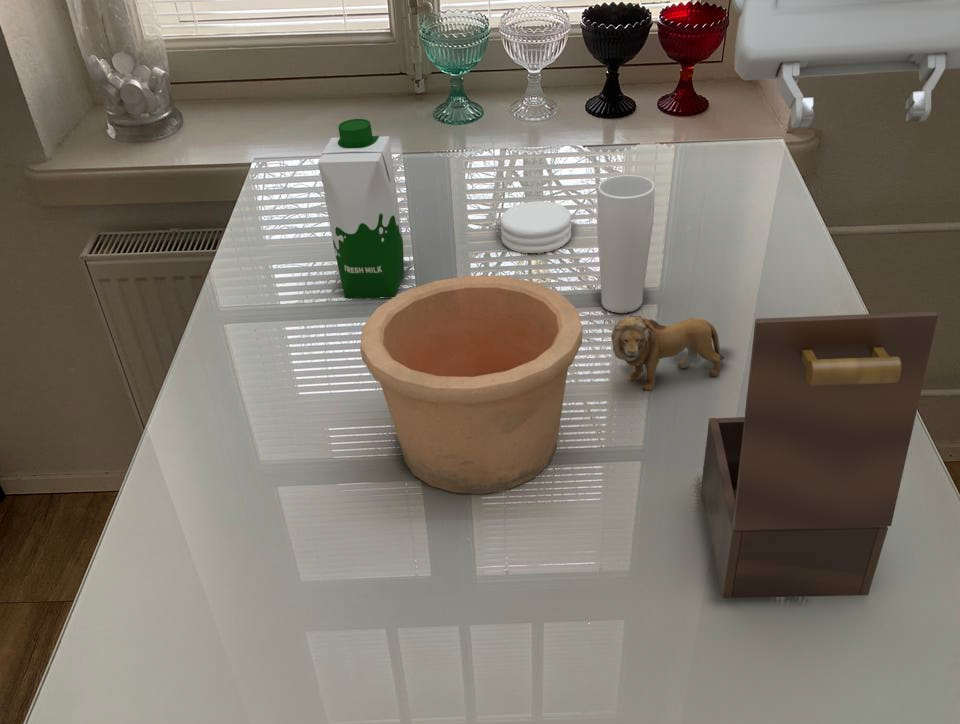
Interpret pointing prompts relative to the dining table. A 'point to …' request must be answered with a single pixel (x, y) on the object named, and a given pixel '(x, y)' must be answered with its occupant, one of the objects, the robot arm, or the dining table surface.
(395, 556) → the dining table surface
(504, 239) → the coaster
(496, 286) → the pottery
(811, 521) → the lid
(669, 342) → the lion figurine
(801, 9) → the robot arm
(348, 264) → the milk carton
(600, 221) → the drinking glass
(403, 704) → the dining table surface
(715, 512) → the box
